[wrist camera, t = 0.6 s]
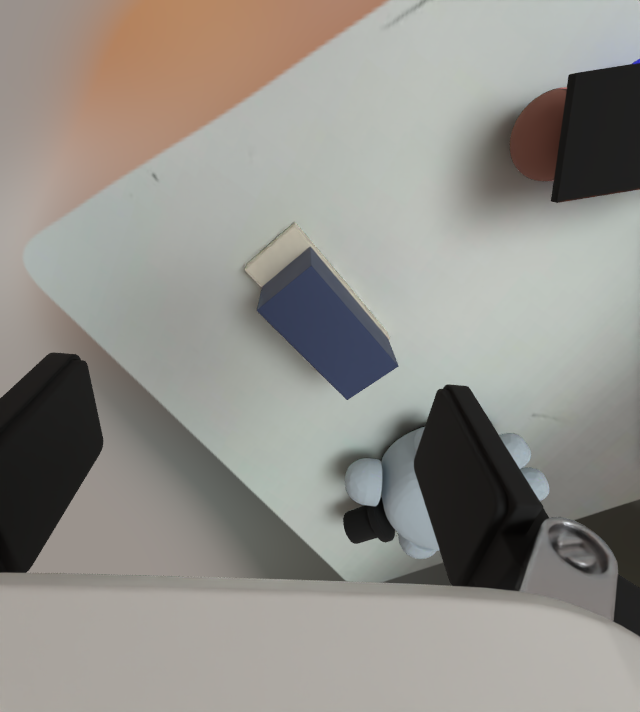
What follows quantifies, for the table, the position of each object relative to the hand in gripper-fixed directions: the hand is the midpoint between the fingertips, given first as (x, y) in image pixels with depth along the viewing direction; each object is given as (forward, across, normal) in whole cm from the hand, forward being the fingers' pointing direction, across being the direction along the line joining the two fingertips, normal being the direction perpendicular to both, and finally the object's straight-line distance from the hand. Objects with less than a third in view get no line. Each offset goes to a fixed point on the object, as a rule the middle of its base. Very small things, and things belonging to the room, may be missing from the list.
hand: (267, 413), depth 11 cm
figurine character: (+21, -21, -10) cm, 31 cm away
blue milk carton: (+21, -3, +5) cm, 22 cm away
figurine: (+22, -17, +24) cm, 36 cm away
